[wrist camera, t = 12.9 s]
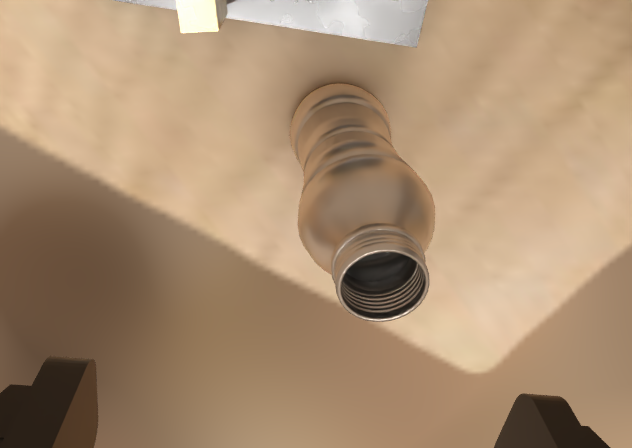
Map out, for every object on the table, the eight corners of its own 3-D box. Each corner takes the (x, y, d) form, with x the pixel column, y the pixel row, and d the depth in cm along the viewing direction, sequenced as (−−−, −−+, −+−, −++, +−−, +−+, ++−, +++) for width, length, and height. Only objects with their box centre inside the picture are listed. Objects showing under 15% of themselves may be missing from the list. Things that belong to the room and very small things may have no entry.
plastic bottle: (286, 77, 37) (292, 219, 20) (386, 73, 38) (477, 210, 20) (291, 165, 41) (299, 354, 23) (382, 161, 41) (459, 344, 23)
